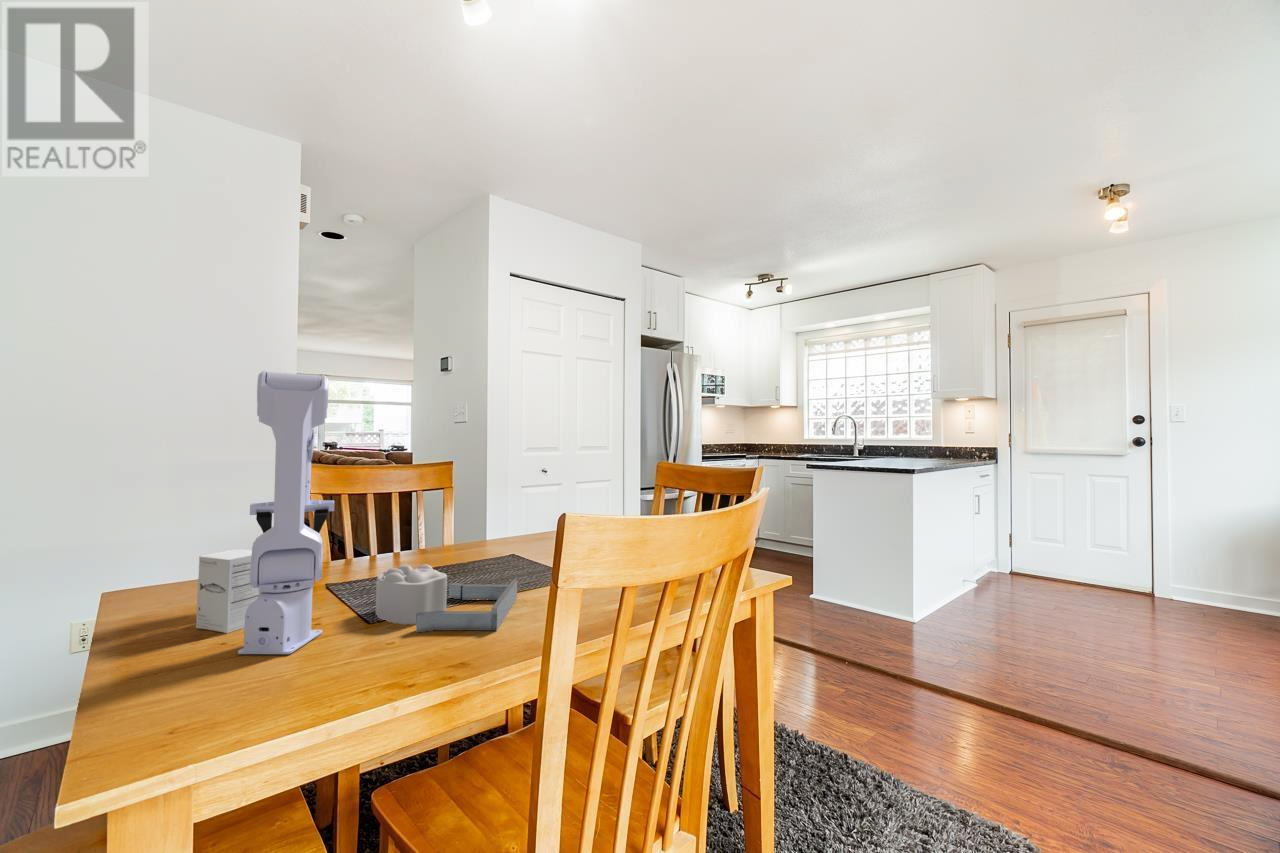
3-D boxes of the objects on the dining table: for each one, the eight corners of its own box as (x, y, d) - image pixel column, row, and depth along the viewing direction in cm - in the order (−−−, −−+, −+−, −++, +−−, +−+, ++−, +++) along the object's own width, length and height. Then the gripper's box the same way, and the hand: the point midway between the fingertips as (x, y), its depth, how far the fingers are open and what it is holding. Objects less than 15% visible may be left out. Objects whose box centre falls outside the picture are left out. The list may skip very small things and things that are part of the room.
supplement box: (194, 629, 93) (197, 555, 93) (237, 616, 100) (240, 547, 100) (225, 634, 91) (228, 559, 91) (267, 620, 98) (269, 550, 98)
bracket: (495, 633, 94) (495, 610, 94) (412, 633, 93) (413, 609, 93) (517, 597, 115) (518, 578, 115) (451, 596, 114) (451, 577, 114)
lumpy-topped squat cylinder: (412, 627, 96) (413, 578, 96) (360, 616, 101) (361, 570, 101) (453, 610, 106) (454, 566, 106) (404, 601, 111) (405, 559, 111)
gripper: (334, 477, 118) (331, 538, 119) (252, 478, 110) (250, 543, 111) (335, 483, 112) (333, 547, 113) (249, 485, 104) (247, 554, 105)
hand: (292, 546), depth 111 cm, fingers open, 7 cm apart
